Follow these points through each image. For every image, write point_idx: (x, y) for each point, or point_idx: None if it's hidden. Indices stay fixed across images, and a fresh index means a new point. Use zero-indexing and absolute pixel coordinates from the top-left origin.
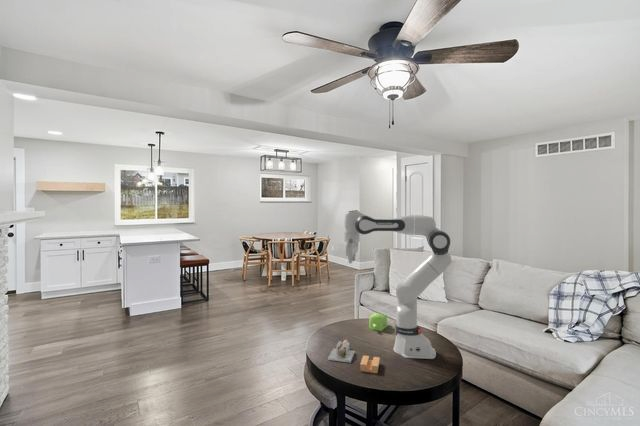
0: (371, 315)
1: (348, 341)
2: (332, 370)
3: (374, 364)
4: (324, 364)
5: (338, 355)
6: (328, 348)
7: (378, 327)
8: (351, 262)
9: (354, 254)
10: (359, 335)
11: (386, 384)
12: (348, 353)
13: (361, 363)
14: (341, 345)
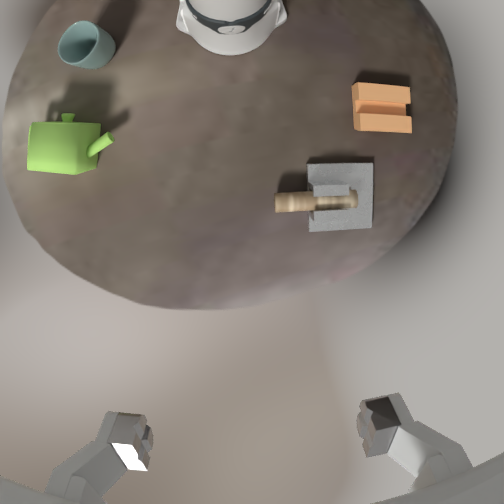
0: (57, 172)
1: (277, 195)
2: (416, 199)
3: (403, 95)
4: (393, 227)
5: None
6: (297, 247)
7: (93, 134)
8: (400, 401)
9: (90, 491)
10: (156, 184)
11: (437, 71)
12: (332, 179)
13: (408, 130)
14: (321, 208)
